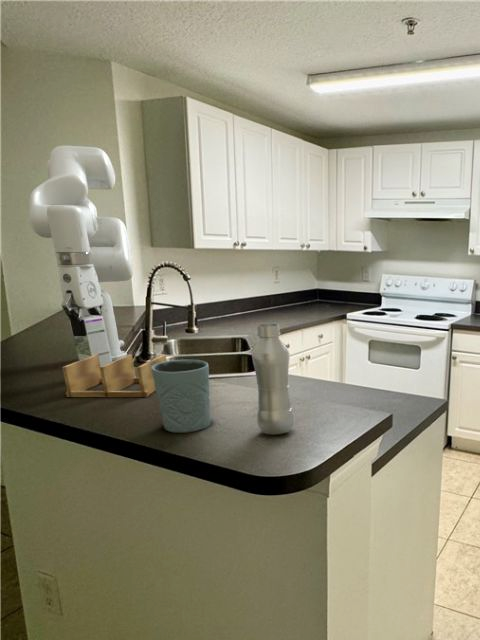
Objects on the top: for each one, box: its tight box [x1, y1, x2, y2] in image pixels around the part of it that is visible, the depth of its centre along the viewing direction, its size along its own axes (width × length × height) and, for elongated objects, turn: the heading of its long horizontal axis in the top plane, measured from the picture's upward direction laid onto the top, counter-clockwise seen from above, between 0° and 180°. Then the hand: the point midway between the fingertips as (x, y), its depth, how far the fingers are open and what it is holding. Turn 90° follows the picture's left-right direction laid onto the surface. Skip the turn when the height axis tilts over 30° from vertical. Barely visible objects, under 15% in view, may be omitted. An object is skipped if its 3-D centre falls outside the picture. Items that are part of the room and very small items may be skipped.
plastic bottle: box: [251, 323, 295, 435], centre depth 99 cm, size 6×7×20 cm
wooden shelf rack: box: [61, 353, 167, 398], centre depth 130 cm, size 14×18×7 cm
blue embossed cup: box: [151, 359, 212, 434], centre depth 104 cm, size 10×10×12 cm
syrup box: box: [68, 315, 112, 367], centre depth 140 cm, size 6×6×14 cm
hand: (89, 332), depth 138 cm, fingers closed on syrup box, 7 cm apart
